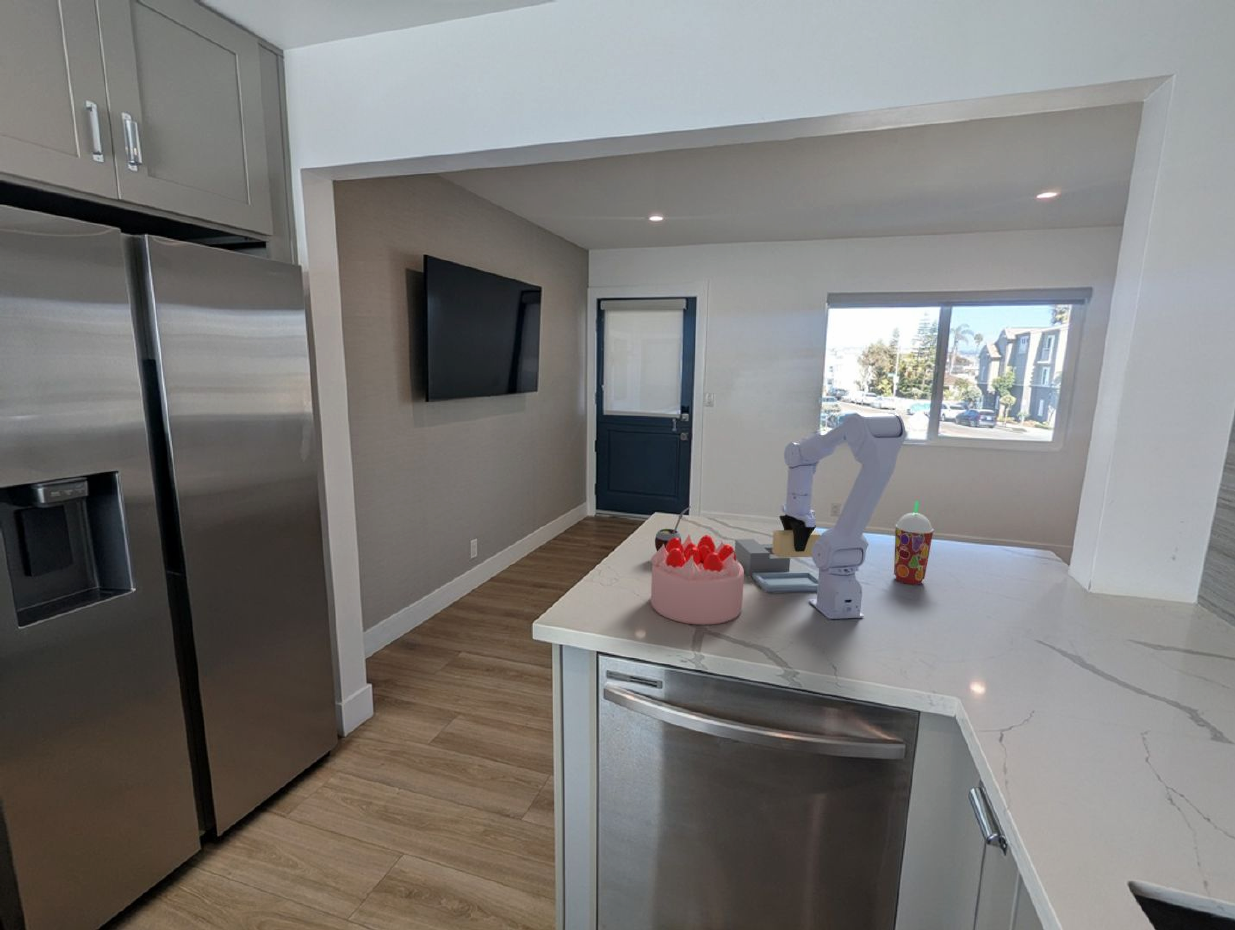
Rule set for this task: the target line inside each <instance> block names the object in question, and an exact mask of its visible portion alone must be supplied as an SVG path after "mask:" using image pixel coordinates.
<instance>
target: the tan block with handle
mask: <svg viewBox="0 0 1235 930" xmlns="http://www.w3.org/2000/svg"><path fill="white" fill-rule="evenodd" d="M821 534H822V533H819V532H817V531H816V530H815V529H814V530H813V532H812V533H811V535H810V537H809V539H808V542H807V545H806V548H805V550H804V551H801V552H796V551H795V548H794V535H793V530H784V529H776V530H773V534H772V544H773V546H772V552H773V553H774V554H775V555H776V556H777V557H779V558H787V557H790V558H812V547H813V544H814V543H815V541H817V540H818V539H819V538H820V536H821Z"/></svg>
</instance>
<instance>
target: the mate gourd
mask: <svg viewBox="0 0 1235 930" xmlns="http://www.w3.org/2000/svg"><path fill="white" fill-rule="evenodd" d="M691 507H692V506H689V507H687V508H685V509H684V510H682V511H681V513H680V514H679V516H678V519H677V522H676V525H675V526H674V529H672V528H663V529H659V530H658V531H657V532H656V534H655V538H654V546H655V549H656V552H657V551H658V550H659V549H660V548H661V547H662V546H663V544H664V546H665V548H666V545H667V544H668V542H669V540H670V539H671V538H673V537H676V538H678V539H679V540H680V541H681V542H682V538H681V537H682V536H681V534H680V532H679V531H678V527H679V524H680V521H681V519H682V518H683V515H684V514H685V513H686V512H687V511H689V509H691Z"/></svg>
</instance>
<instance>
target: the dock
mask: <svg viewBox="0 0 1235 930" xmlns="http://www.w3.org/2000/svg"><path fill="white" fill-rule="evenodd" d="M772 546H773V543H767V544H766V543H765V544H764V543H762V544H761V543H759V542H758V541H756V540H755V539H754V538H749V539H748V538H746V539H745V538H743V539H740V538H739V539H738V538H737V539H735V542H734V551H735V554H736V557H737V560H738V562H739V563H740V564H741V565H742V567H743V569H744V574H745V573H746V575H747V576H748V577H753V573H771V572H790V566H791V564H790V563H791V557H787V558H779V557H777V556H776V555H775V554H774V553H773V552H772Z"/></svg>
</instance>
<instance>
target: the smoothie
mask: <svg viewBox="0 0 1235 930" xmlns="http://www.w3.org/2000/svg"><path fill="white" fill-rule="evenodd" d="M918 510H919V501H915V502H914V511H913V512H908V513H905V514H904V515H902V516H901V517H900V518H899V519H898V521H897V522H896V523H895V525H894V526H895V529H894V531H895V533H894V534H895V535H894V536H895V537H894V563H893V564H894V567H893V568H894V569H893V574H894V576H895V579H896V581H898V582H899V583H903V584H906V585H911V586H912V585H913V586H915V585H919V584H922V582H923V580H924V579H926V578H925V577H926V572H927V568H928V561H929V557H930V553H931V551H930V550H931V546H932V545H931V544H932V541H933V536H934V534H933V533H934V528H933V527H932V523H931V521H930V520H929V518H928V517H926V515H923V514H922V513H919V512H918Z"/></svg>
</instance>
